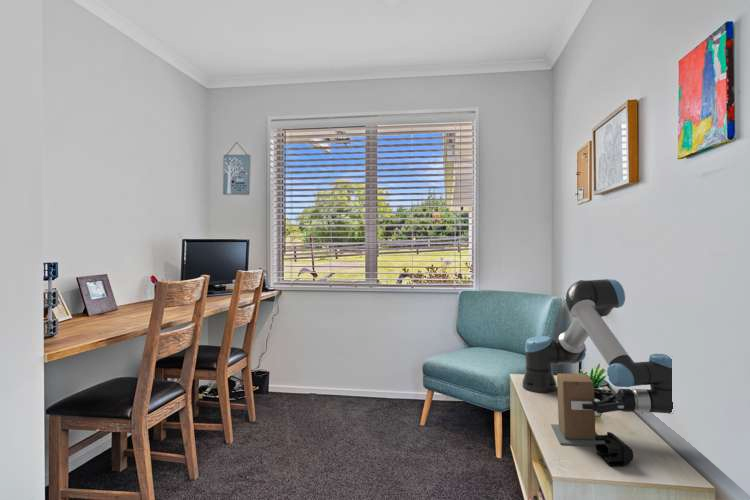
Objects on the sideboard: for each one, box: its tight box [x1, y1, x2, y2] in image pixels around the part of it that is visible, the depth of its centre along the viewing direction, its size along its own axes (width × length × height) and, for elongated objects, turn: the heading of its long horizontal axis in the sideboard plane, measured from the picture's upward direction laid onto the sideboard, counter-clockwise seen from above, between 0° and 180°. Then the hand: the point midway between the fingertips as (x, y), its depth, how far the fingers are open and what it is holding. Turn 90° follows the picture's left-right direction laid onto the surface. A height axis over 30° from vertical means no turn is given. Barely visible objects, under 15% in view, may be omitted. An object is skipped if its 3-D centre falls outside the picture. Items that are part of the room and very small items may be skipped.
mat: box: [550, 423, 605, 447], centre depth 159 cm, size 16×14×1 cm
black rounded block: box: [595, 431, 635, 468], centre depth 140 cm, size 10×7×7 cm
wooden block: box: [556, 372, 596, 440], centre depth 159 cm, size 10×10×20 cm
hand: (566, 398), depth 159 cm, fingers open, 13 cm apart
